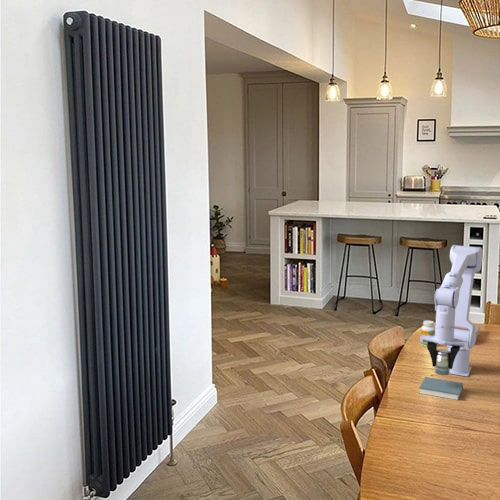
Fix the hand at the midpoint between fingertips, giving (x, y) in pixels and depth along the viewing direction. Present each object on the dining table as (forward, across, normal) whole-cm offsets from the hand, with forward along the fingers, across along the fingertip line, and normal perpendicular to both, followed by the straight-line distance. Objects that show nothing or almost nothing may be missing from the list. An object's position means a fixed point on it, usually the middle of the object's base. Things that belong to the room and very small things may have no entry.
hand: (442, 366), depth 198 cm
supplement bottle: (+8, -13, +46) cm, 49 cm away
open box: (+8, -5, +63) cm, 64 cm away
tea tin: (+2, 0, 0) cm, 2 cm away
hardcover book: (+9, 0, 0) cm, 9 cm away
